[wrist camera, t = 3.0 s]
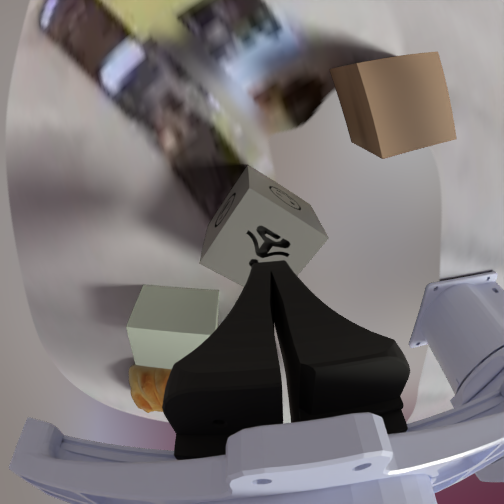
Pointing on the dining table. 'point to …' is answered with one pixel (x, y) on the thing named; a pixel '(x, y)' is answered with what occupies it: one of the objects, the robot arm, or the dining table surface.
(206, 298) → the grey-green block
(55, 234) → the dining table surface
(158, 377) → the pastry
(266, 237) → the grey symbol cube
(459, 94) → the dining table surface
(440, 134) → the walnut block
